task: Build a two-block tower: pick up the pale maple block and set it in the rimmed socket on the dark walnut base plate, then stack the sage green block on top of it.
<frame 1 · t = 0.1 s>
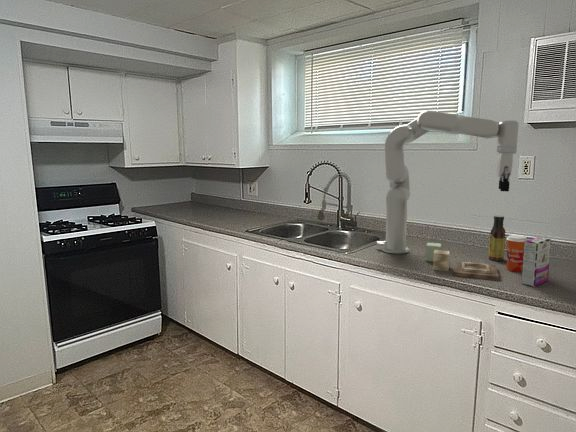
hand: (503, 190, 181), 31 cm above the worktop, tool pointing down, fingers open, 9 cm apart
sage block: (432, 259, 187), on the worktop
base plate: (475, 272, 168), on the worktop
candy bar box: (534, 283, 155), on the worktop
paper cup: (514, 270, 171), on the worktop
sauce bottle: (495, 259, 187), on the worktop
maple block: (440, 268, 174), on the worktop
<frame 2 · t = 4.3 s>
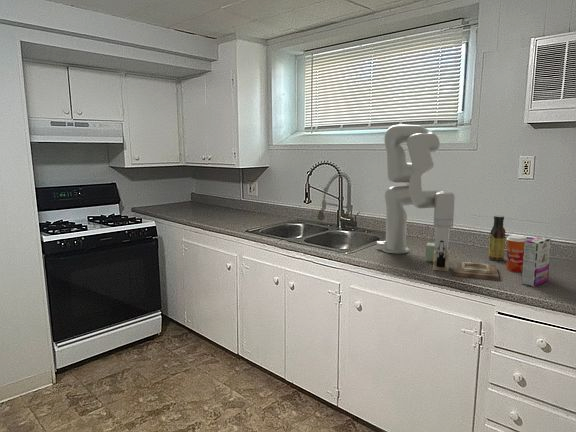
hand: (441, 264, 174), 2 cm above the worktop, tool pointing down, fingers closed on maple block, 5 cm apart
maple block: (440, 268, 174), on the worktop, touching gripper
everything else where it was.
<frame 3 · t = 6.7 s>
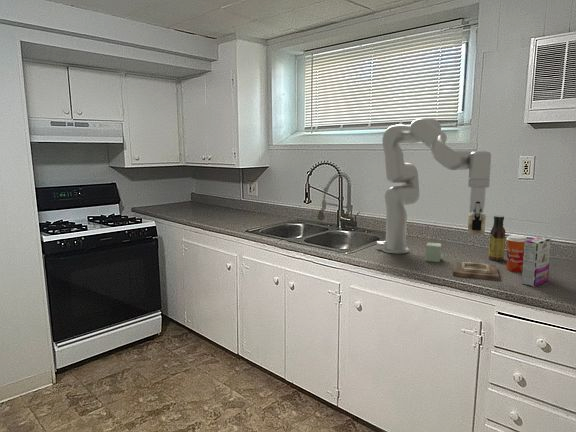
hand: (476, 228, 165), 18 cm above the worktop, tool pointing down, fingers closed on maple block, 5 cm apart
maple block: (476, 232, 166), point 16 cm above the worktop, touching gripper
everything else where it was.
when the fingers open (5 cm above the worktop, at t = 9.6 s): maple block drops 2 cm, resting on base plate.
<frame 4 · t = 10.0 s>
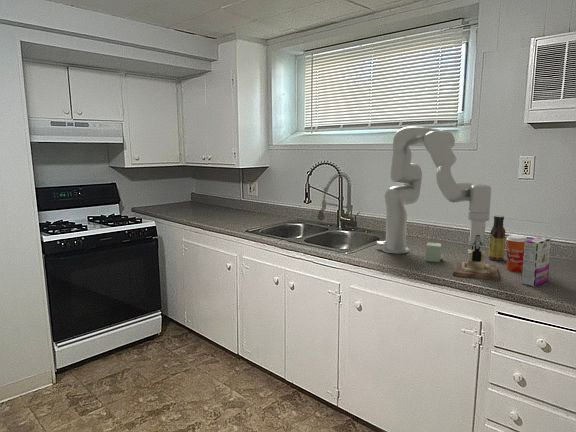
hand: (476, 258, 167), 6 cm above the worktop, tool pointing down, fingers open, 9 cm apart
maple block: (475, 268, 168), point 1 cm above the worktop, touching base plate
everything else where it was.
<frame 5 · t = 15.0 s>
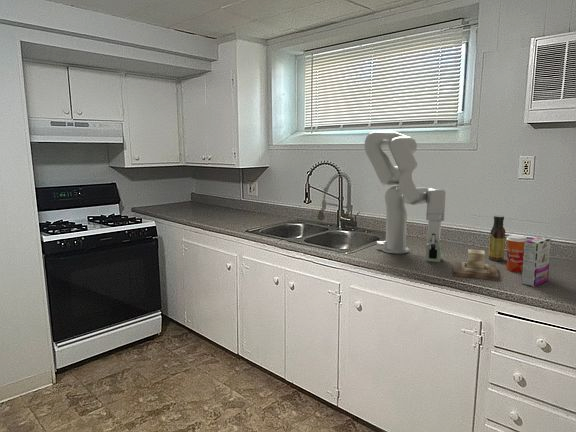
hand: (433, 256, 187), 2 cm above the worktop, tool pointing down, fingers closed on sage block, 6 cm apart
sage block: (433, 259, 187), on the worktop, touching gripper
everything else where it was.
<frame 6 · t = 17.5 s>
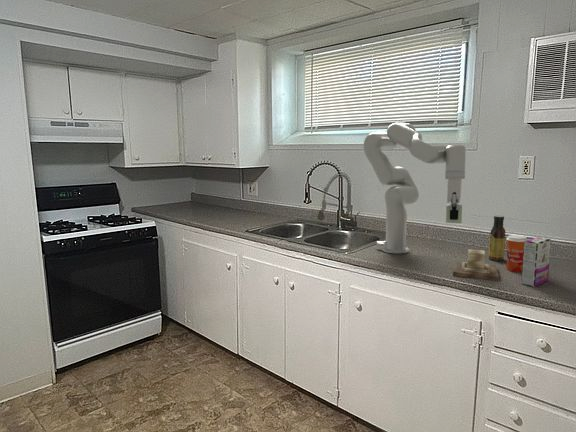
hand: (454, 218, 175), 20 cm above the worktop, tool pointing down, fingers closed on sage block, 5 cm apart
sage block: (453, 221, 176), point 19 cm above the worktop, touching gripper
everything else where it was.
when the fingers open (11 cm above the worktop, at t = 20.3 s): sage block stays where it is, resting on maple block.
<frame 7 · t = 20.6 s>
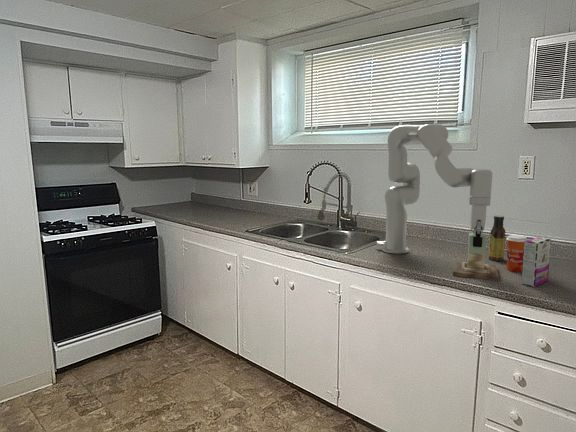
hand: (476, 244, 166), 12 cm above the worktop, tool pointing down, fingers open, 8 cm apart
sage block: (476, 251, 167), point 8 cm above the worktop, touching maple block
maple block: (475, 268, 168), point 1 cm above the worktop, touching base plate, sage block
everything else where it was.
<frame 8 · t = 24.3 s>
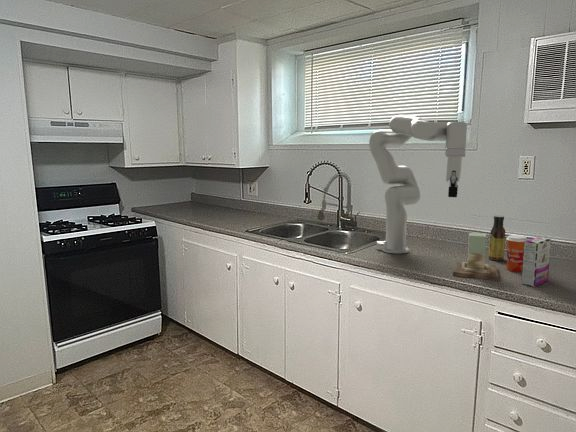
hand: (452, 195, 170), 30 cm above the worktop, tool pointing down, fingers open, 9 cm apart
nothing on the worktop moved.
at the end: maple block 0.1 cm off-centre on the base plate, point 1.5 cm above the base plate's base; sage block 0.0 cm off-centre on the base plate, point 8.5 cm above the base plate's base; sage block tilted 0° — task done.
